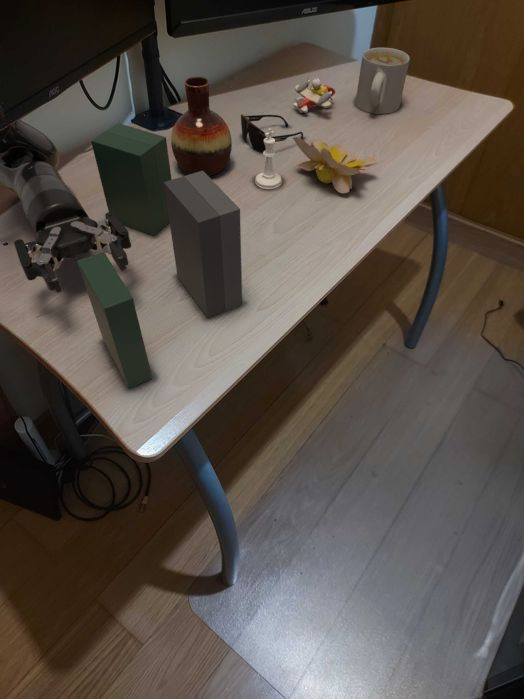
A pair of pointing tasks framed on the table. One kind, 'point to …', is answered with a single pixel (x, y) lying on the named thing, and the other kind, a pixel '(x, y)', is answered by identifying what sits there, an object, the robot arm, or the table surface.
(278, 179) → the chess piece
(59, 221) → the robot arm
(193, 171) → the vase
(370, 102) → the coffee mug
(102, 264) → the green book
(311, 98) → the toy airplane
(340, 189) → the decorative flower
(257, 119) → the sunglasses
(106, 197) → the green rectangular block
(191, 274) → the grey faceted block
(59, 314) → the table surface
